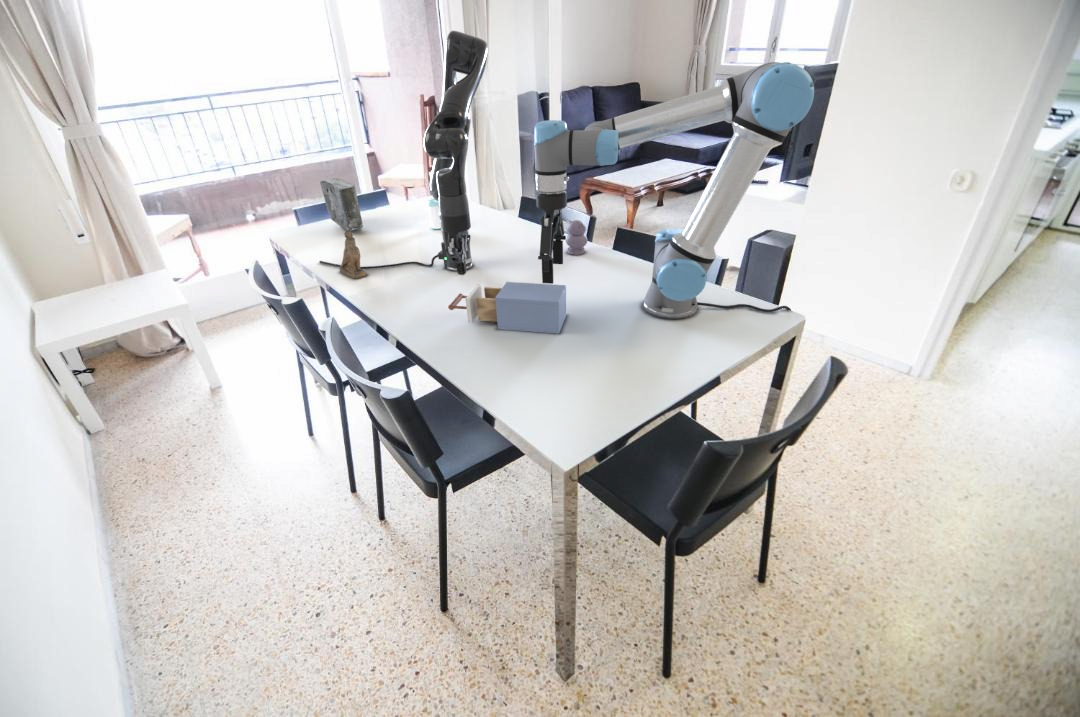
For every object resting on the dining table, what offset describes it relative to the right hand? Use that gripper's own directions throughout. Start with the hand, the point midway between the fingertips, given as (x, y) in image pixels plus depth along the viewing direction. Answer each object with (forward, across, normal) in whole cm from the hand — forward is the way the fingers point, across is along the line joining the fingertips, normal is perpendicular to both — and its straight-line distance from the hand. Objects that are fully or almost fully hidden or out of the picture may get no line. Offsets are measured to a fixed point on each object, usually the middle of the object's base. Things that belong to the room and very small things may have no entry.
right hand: (553, 273), depth 132 cm
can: (+15, +83, +70) cm, 110 cm away
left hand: (+2, 0, +26) cm, 26 cm away
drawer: (+14, 0, +19) cm, 24 cm away
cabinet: (+15, 0, +6) cm, 17 cm away
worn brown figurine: (+15, +27, +79) cm, 85 cm away
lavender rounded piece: (+15, +59, +3) cm, 61 cm away
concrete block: (+15, +78, +112) cm, 137 cm away
